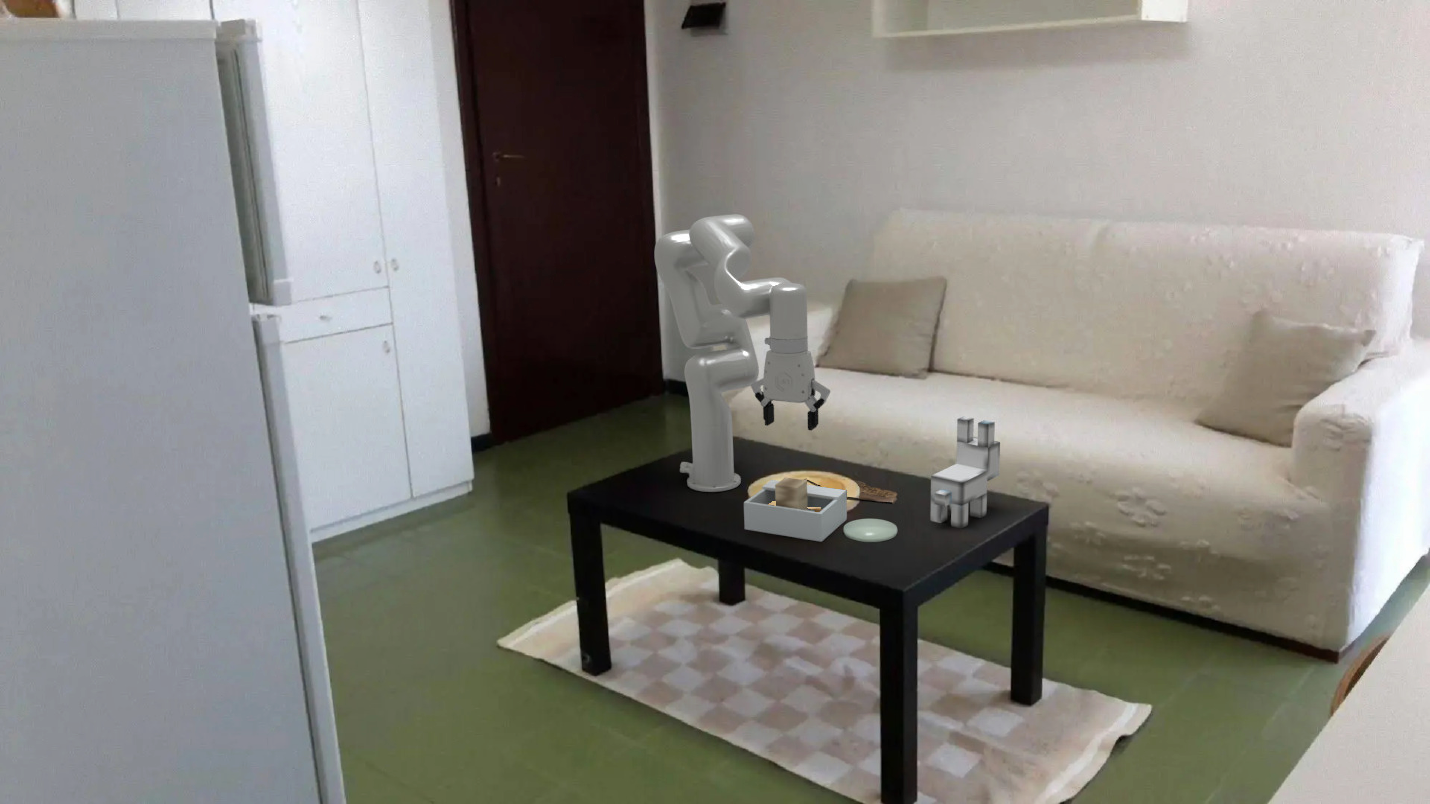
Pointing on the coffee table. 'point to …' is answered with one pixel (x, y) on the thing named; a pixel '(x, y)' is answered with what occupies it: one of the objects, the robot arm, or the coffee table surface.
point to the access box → (797, 513)
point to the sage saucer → (870, 530)
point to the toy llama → (966, 474)
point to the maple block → (791, 493)
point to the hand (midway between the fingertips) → (790, 426)
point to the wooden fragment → (875, 493)
